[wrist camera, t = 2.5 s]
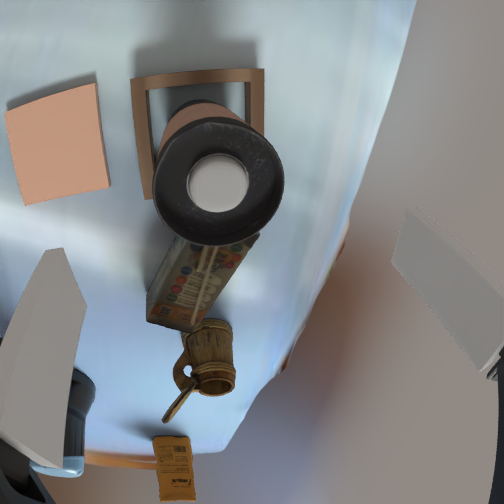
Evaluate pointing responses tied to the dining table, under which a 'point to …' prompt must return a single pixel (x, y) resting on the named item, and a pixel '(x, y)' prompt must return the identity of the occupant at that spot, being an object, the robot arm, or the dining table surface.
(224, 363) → the wooden mug
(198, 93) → the dining table surface
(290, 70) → the dining table surface
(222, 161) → the travel mug
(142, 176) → the collar
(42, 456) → the robot arm
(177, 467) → the coffee package
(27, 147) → the coaster tile
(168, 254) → the beverage carton
